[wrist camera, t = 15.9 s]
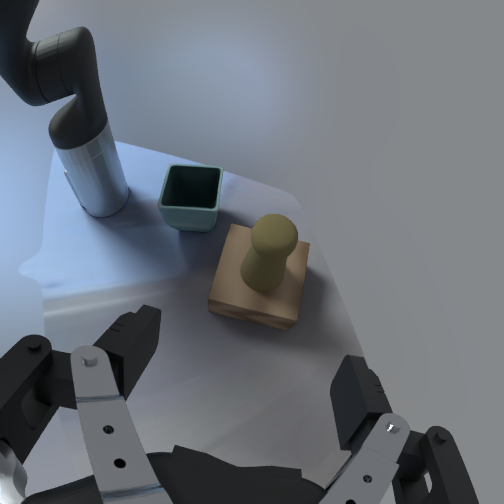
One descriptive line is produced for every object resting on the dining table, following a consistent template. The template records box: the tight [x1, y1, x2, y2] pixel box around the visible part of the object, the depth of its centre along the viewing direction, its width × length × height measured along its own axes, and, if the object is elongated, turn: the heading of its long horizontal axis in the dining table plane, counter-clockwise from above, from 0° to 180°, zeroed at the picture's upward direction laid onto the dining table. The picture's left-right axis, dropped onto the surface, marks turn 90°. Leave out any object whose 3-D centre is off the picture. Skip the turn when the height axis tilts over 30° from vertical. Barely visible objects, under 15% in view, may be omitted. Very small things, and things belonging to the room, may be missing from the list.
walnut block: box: [208, 223, 310, 330], centre depth 44 cm, size 12×12×6 cm
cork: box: [240, 214, 298, 292], centre depth 36 cm, size 6×6×11 cm
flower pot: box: [158, 164, 224, 232], centre depth 47 cm, size 9×9×9 cm
